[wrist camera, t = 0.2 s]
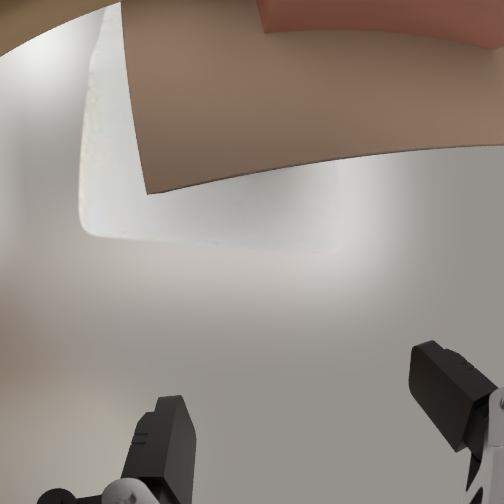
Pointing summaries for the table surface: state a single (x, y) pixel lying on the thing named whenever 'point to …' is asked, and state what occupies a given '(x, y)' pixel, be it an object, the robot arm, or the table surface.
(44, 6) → the mallet
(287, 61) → the wooden pedestal column
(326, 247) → the table surface
